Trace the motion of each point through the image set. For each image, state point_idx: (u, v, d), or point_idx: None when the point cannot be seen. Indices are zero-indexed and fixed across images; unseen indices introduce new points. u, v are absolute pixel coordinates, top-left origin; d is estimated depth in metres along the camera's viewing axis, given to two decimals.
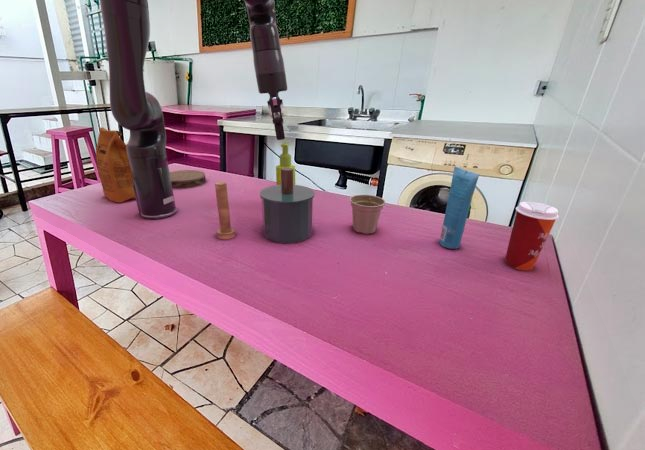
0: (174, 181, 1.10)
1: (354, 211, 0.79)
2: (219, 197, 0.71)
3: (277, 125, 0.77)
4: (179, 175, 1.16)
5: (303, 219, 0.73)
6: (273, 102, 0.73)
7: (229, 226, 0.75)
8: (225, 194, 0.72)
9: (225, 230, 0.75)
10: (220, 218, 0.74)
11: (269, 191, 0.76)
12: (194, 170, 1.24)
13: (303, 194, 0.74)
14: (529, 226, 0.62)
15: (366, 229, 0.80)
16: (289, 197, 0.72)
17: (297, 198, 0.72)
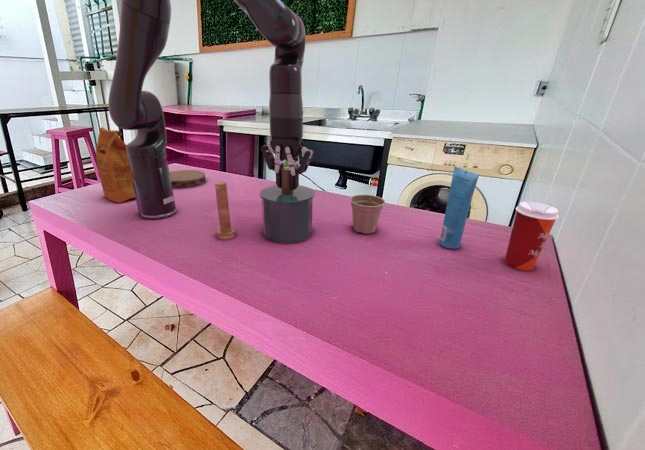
0: (174, 181, 1.10)
1: (354, 211, 0.79)
2: (219, 197, 0.71)
3: (297, 175, 0.72)
4: (179, 175, 1.16)
5: (303, 219, 0.73)
6: (310, 156, 0.69)
7: (229, 226, 0.75)
8: (225, 194, 0.72)
9: (225, 230, 0.75)
10: (220, 218, 0.74)
11: (269, 191, 0.76)
12: (194, 170, 1.24)
13: (303, 194, 0.74)
14: (529, 226, 0.62)
15: (366, 229, 0.80)
16: (289, 197, 0.72)
17: (297, 198, 0.72)
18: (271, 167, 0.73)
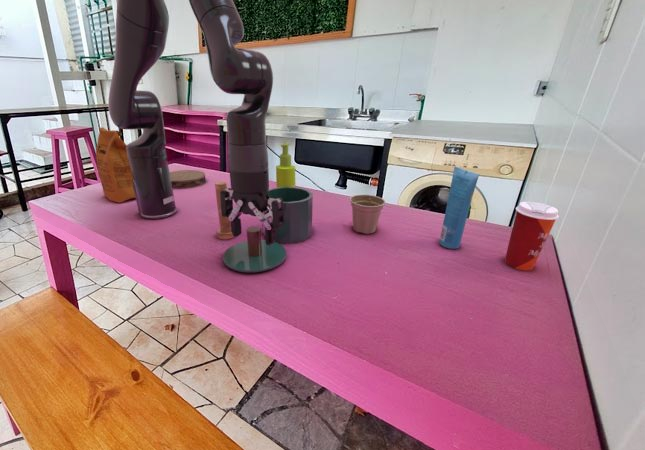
0: (174, 181, 1.10)
1: (354, 211, 0.79)
2: (219, 197, 0.71)
3: (273, 229, 0.62)
4: (179, 175, 1.16)
5: (303, 219, 0.73)
6: (279, 205, 0.59)
7: (229, 226, 0.75)
8: None
9: (225, 230, 0.75)
10: (220, 218, 0.74)
11: (234, 251, 0.67)
12: (194, 170, 1.24)
13: (272, 257, 0.66)
14: (529, 226, 0.62)
15: (366, 229, 0.80)
16: (256, 262, 0.63)
17: (264, 264, 0.63)
18: (225, 214, 0.65)
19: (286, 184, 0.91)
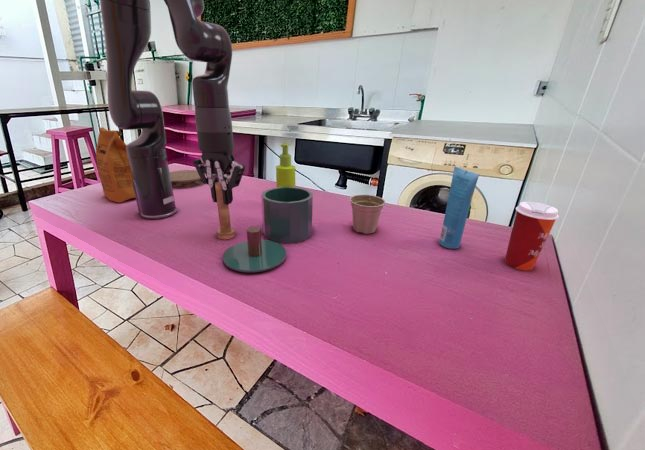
0: (174, 181, 1.10)
1: (354, 211, 0.79)
2: (219, 197, 0.71)
3: (229, 189, 0.71)
4: (179, 175, 1.16)
5: (303, 219, 0.73)
6: (240, 171, 0.67)
7: (229, 226, 0.75)
8: None
9: (225, 230, 0.75)
10: (220, 218, 0.74)
11: (234, 251, 0.67)
12: (194, 170, 1.24)
13: (272, 257, 0.66)
14: (529, 226, 0.62)
15: (366, 229, 0.80)
16: (256, 262, 0.63)
17: (264, 264, 0.63)
18: (205, 181, 0.71)
19: (286, 184, 0.91)
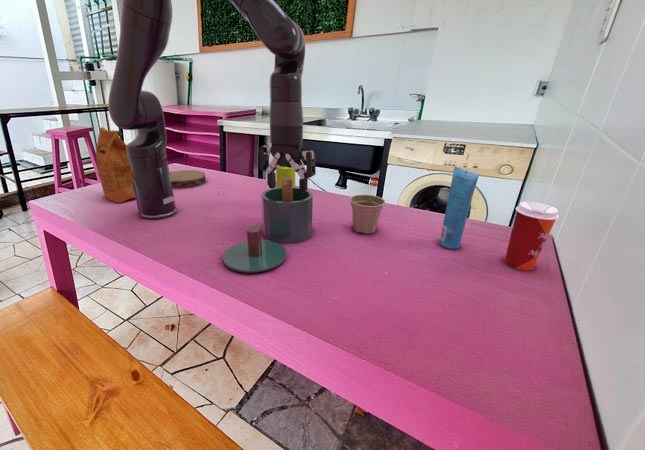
0: (174, 181, 1.10)
1: (354, 211, 0.79)
2: (285, 192, 0.74)
3: (306, 179, 0.72)
4: (179, 175, 1.16)
5: (303, 219, 0.73)
6: (312, 156, 0.69)
7: None
8: (291, 190, 0.75)
9: None
10: None
11: (234, 251, 0.67)
12: (194, 170, 1.24)
13: (272, 257, 0.66)
14: (529, 226, 0.62)
15: (366, 229, 0.80)
16: (256, 262, 0.63)
17: (264, 264, 0.63)
18: (262, 168, 0.74)
19: None
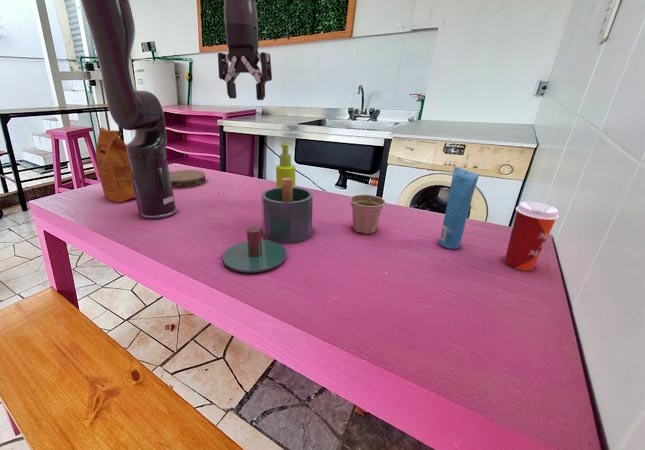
0: (174, 181, 1.10)
1: (354, 211, 0.79)
2: (285, 192, 0.74)
3: (262, 83, 0.74)
4: (179, 175, 1.16)
5: (303, 219, 0.73)
6: (267, 57, 0.71)
7: None
8: (291, 190, 0.75)
9: None
10: None
11: (234, 251, 0.67)
12: (194, 170, 1.24)
13: (272, 257, 0.66)
14: (529, 226, 0.62)
15: (366, 229, 0.80)
16: (256, 262, 0.63)
17: (264, 264, 0.63)
18: (222, 76, 0.76)
19: None
